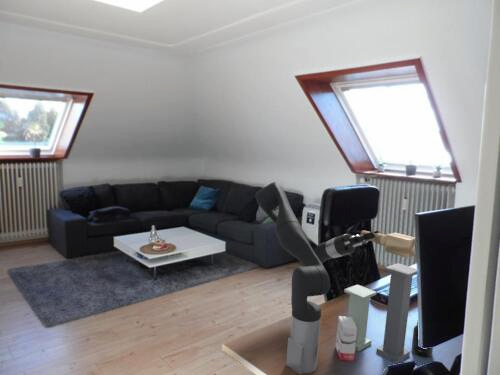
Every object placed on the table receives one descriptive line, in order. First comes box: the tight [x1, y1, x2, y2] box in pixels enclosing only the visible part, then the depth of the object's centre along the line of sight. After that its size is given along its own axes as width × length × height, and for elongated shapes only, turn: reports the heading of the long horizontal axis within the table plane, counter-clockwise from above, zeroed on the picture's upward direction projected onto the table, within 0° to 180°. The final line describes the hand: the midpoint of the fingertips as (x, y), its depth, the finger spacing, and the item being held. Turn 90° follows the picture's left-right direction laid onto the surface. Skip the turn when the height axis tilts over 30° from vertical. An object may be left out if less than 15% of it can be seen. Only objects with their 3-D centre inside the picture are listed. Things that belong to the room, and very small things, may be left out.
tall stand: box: [376, 262, 418, 364], centre depth 134 cm, size 8×8×31 cm
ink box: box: [335, 315, 357, 362], centre depth 134 cm, size 8×5×12 cm, turn 178°
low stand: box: [343, 284, 377, 352], centre depth 141 cm, size 8×8×20 cm
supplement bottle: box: [411, 321, 434, 358], centre depth 137 cm, size 7×7×12 cm
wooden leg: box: [359, 230, 416, 259], centre depth 136 cm, size 5×19×6 cm, turn 40°
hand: (376, 233), depth 138 cm, fingers closed on wooden leg, 3 cm apart
